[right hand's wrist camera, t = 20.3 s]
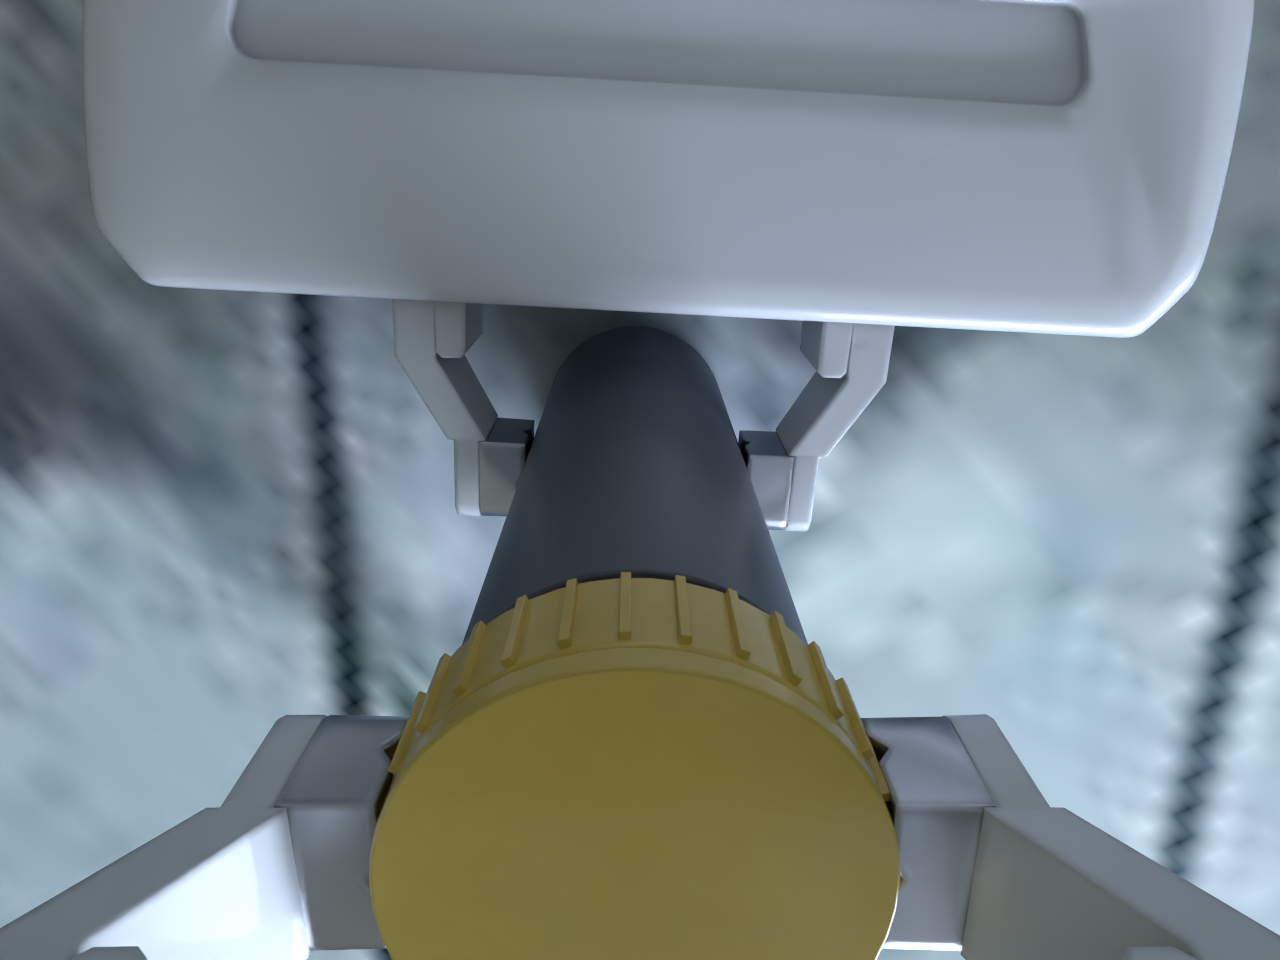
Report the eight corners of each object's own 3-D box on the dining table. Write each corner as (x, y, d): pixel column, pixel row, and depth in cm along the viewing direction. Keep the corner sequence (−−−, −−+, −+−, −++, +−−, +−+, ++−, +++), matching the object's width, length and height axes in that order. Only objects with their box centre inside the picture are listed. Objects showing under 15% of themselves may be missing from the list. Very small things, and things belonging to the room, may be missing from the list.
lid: (829, 959, 11) (862, 1101, 10) (407, 937, 11) (367, 1078, 9) (901, 585, 9) (958, 679, 8) (400, 552, 9) (348, 640, 8)
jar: (528, 465, 25) (366, 952, 10) (576, 303, 23) (469, 586, 8) (689, 512, 25) (767, 1044, 10) (746, 356, 24) (935, 714, 9)
